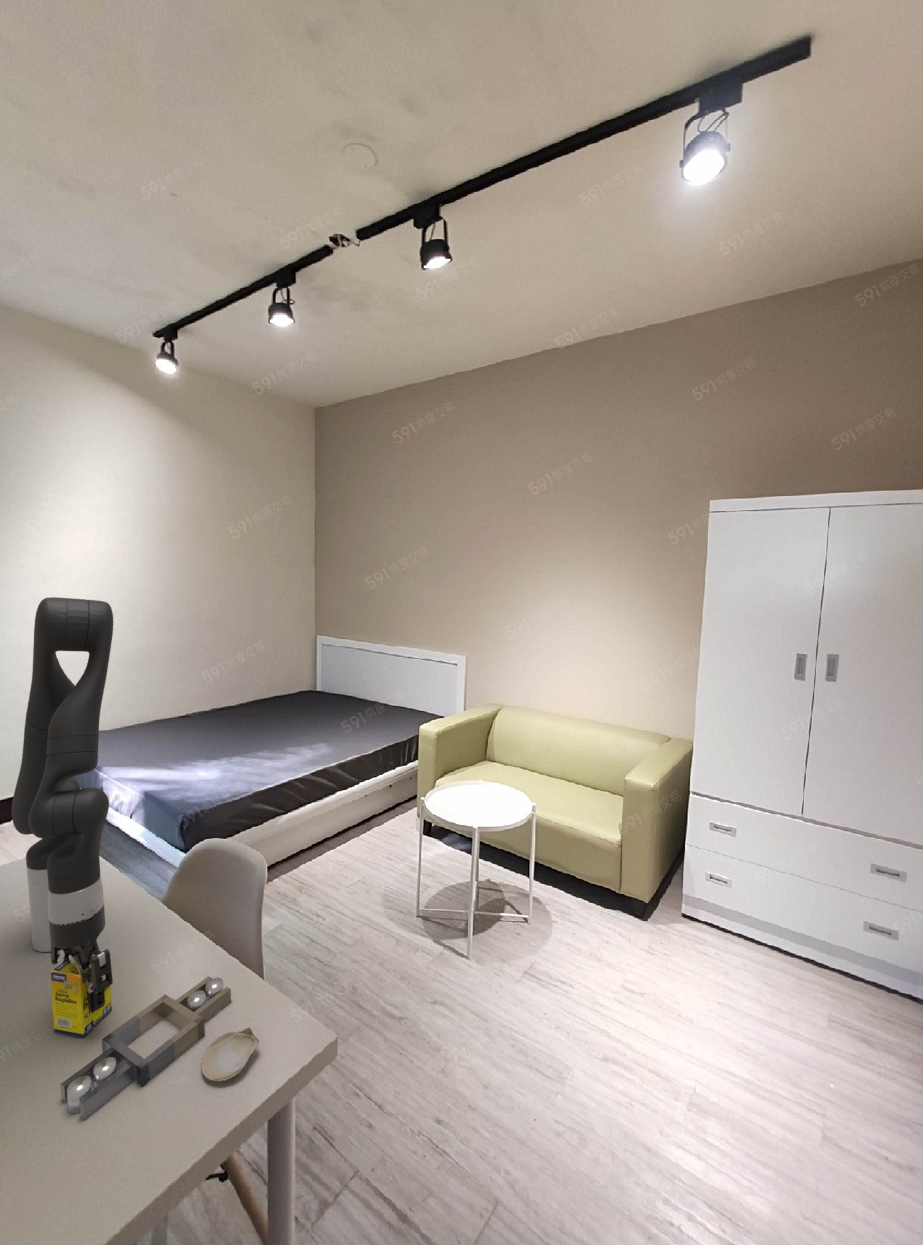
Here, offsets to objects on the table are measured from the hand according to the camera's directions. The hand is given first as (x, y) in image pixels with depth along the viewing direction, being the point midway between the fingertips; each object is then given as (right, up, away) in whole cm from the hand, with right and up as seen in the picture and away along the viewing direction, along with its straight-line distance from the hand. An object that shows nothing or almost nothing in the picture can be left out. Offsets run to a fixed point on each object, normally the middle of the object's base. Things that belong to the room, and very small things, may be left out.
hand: (83, 998), depth 92 cm
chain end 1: (+11, -5, -10) cm, 16 cm away
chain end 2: (+18, -4, +1) cm, 18 cm away
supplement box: (0, -4, 0) cm, 4 cm away
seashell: (+28, -6, -7) cm, 29 cm away
